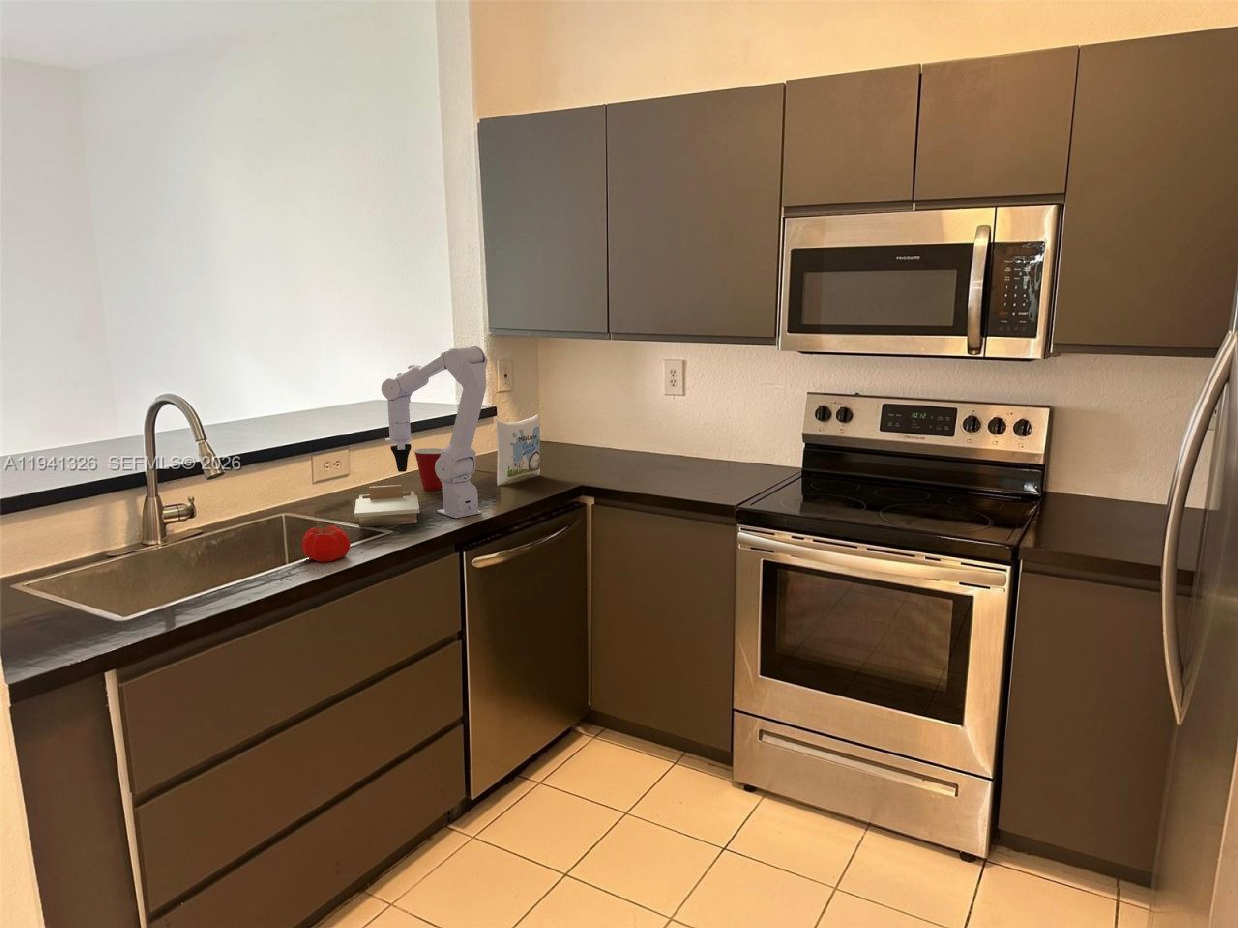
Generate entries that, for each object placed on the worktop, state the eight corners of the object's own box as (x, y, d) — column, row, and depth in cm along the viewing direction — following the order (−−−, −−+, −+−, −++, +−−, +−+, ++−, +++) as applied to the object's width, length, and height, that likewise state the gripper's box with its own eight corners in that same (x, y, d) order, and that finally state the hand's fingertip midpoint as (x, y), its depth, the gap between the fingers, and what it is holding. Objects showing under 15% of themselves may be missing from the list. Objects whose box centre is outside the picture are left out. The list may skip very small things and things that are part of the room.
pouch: (488, 484, 262) (485, 419, 258) (532, 474, 276) (530, 412, 272) (506, 488, 257) (503, 421, 253) (550, 477, 271) (549, 414, 267)
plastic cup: (459, 486, 258) (457, 447, 256) (434, 494, 249) (432, 453, 247) (432, 483, 264) (430, 444, 262) (407, 490, 255) (404, 450, 252)
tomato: (339, 548, 198) (337, 520, 196) (356, 559, 189) (354, 530, 188) (296, 556, 192) (294, 527, 191) (311, 568, 183) (309, 538, 182)
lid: (356, 502, 217) (355, 487, 217) (416, 498, 221) (416, 483, 220) (354, 517, 203) (353, 501, 202) (419, 512, 207) (418, 496, 206)
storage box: (360, 513, 228) (359, 494, 227) (414, 509, 232) (413, 491, 231) (359, 526, 215) (357, 507, 214) (416, 522, 219) (415, 503, 218)
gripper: (384, 419, 239) (387, 466, 241) (384, 426, 225) (387, 477, 228) (410, 417, 241) (412, 465, 243) (411, 425, 227) (414, 475, 229)
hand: (402, 471), depth 236 cm, fingers closed
